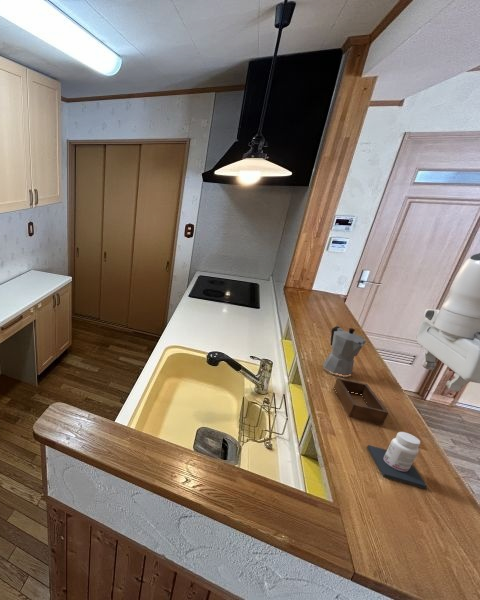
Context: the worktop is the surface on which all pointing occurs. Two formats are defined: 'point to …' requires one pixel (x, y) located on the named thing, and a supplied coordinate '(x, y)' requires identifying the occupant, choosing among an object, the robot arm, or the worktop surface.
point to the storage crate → (370, 413)
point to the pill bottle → (402, 451)
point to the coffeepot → (343, 351)
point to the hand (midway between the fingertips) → (438, 378)
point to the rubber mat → (391, 473)
